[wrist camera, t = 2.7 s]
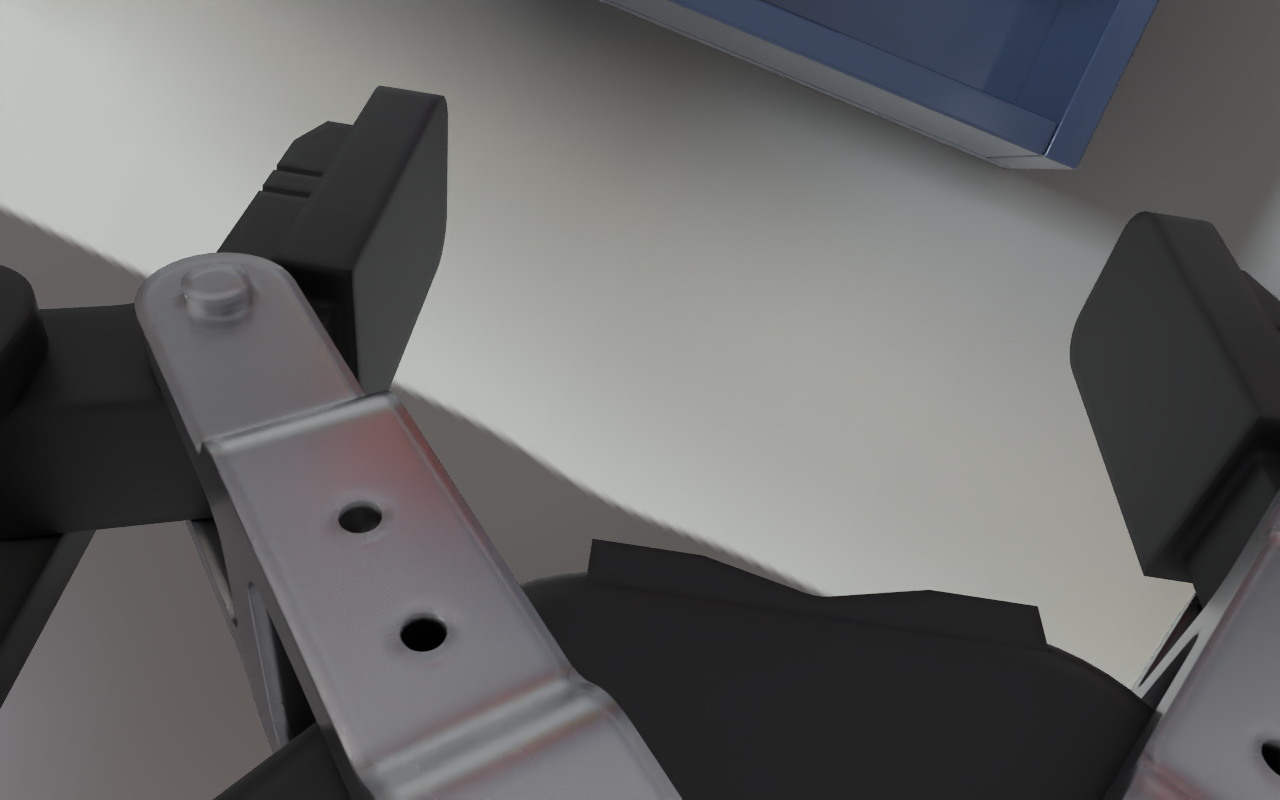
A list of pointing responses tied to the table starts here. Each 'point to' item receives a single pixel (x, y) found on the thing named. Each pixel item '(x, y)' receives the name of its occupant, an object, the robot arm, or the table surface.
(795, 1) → the tray
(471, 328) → the table surface
